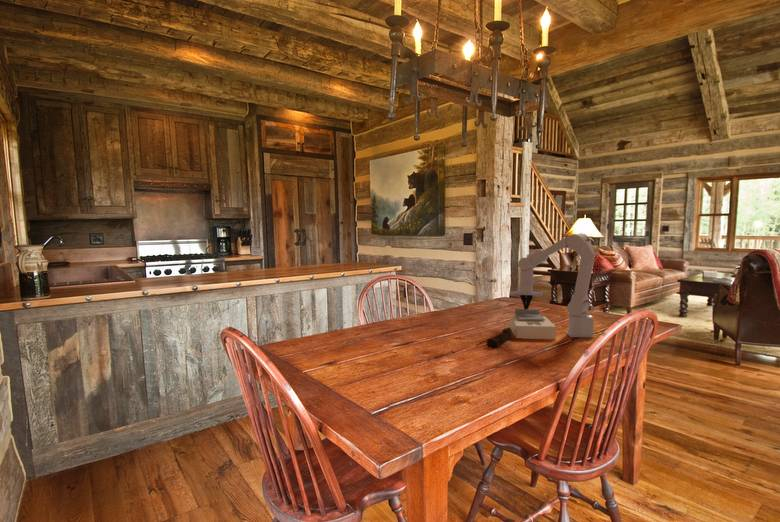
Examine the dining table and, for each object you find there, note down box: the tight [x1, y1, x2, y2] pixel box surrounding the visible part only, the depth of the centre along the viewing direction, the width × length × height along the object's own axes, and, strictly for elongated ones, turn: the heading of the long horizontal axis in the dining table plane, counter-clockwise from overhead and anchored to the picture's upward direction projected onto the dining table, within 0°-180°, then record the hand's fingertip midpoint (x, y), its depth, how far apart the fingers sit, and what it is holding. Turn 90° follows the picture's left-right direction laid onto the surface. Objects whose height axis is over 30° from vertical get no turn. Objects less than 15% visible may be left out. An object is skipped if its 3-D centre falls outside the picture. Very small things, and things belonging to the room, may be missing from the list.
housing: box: [509, 315, 557, 340], centre depth 178 cm, size 16×18×6 cm
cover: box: [514, 308, 545, 321], centre depth 182 cm, size 11×11×3 cm
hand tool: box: [486, 327, 512, 349], centre depth 165 cm, size 19×4×5 cm, turn 138°
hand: (526, 311), depth 189 cm, fingers closed
